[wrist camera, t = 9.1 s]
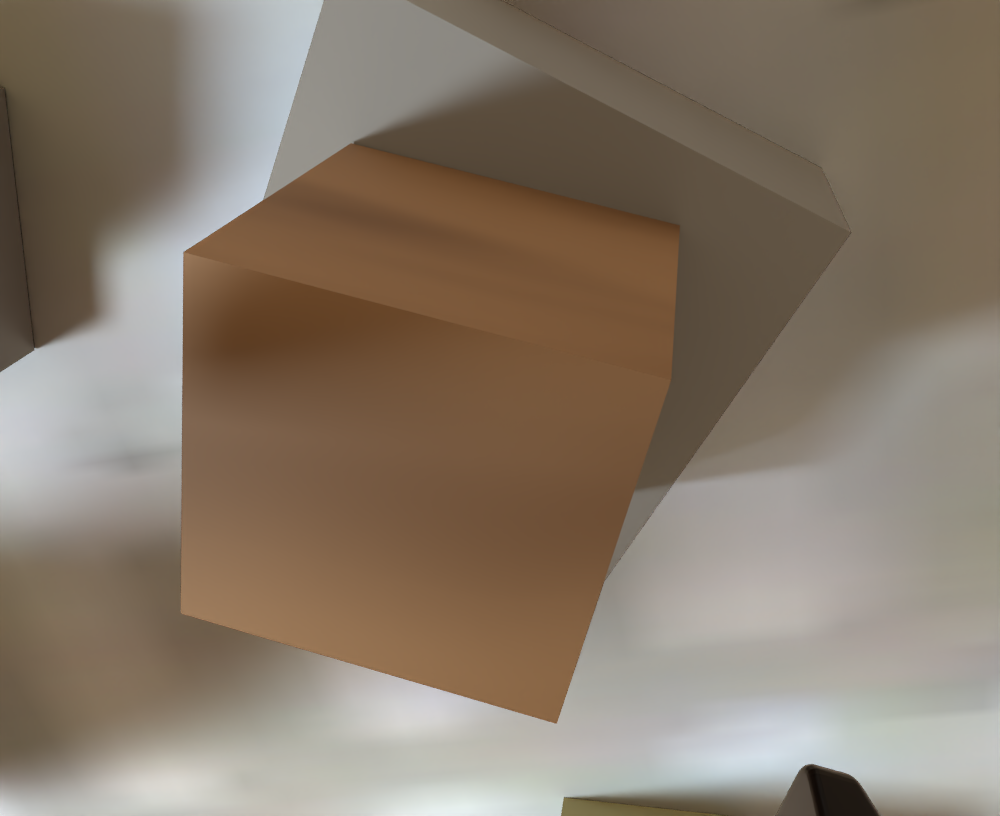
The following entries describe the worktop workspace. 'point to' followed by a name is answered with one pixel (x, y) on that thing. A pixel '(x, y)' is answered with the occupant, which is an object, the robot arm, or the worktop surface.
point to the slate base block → (583, 175)
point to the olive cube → (618, 809)
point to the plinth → (11, 260)
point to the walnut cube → (420, 419)
